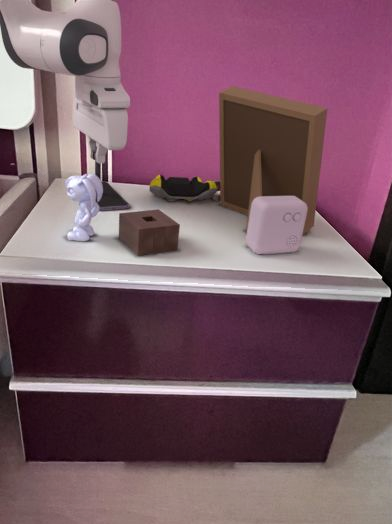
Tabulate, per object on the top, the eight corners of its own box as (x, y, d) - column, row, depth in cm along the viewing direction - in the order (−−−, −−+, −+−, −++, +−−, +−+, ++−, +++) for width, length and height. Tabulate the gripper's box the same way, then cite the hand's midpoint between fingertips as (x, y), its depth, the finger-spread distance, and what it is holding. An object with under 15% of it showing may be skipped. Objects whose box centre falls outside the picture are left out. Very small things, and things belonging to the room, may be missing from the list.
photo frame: (231, 201, 131) (247, 84, 117) (312, 230, 120) (341, 106, 107) (191, 214, 121) (204, 88, 107) (276, 247, 110) (302, 112, 96)
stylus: (96, 195, 122) (96, 127, 114) (93, 193, 123) (93, 126, 115) (101, 194, 122) (102, 127, 115) (99, 192, 123) (99, 125, 116)
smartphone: (97, 207, 116) (75, 182, 127) (97, 212, 117) (75, 187, 127) (130, 205, 119) (106, 181, 130) (129, 210, 120) (106, 185, 130)
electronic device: (255, 257, 105) (264, 205, 99) (244, 247, 108) (252, 196, 103) (301, 254, 108) (312, 203, 103) (289, 244, 112) (299, 195, 107)
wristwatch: (233, 181, 132) (213, 175, 133) (223, 194, 128) (203, 188, 129) (231, 194, 134) (212, 188, 135) (222, 207, 130) (202, 201, 132)
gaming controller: (216, 208, 126) (207, 193, 134) (219, 183, 123) (210, 170, 131) (150, 205, 123) (144, 190, 131) (151, 180, 120) (146, 167, 128)
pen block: (137, 256, 100) (139, 229, 97) (118, 238, 106) (119, 213, 103) (177, 250, 104) (179, 224, 101) (156, 233, 110) (158, 209, 107)
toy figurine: (72, 227, 108) (71, 164, 101) (104, 232, 107) (105, 169, 101) (59, 240, 102) (57, 174, 95) (93, 246, 101) (93, 180, 95)
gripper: (64, 80, 117) (65, 148, 124) (103, 100, 103) (102, 176, 110) (92, 80, 120) (92, 147, 127) (134, 100, 106) (131, 174, 113)
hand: (97, 160), depth 119 cm, fingers closed on stylus, 1 cm apart
